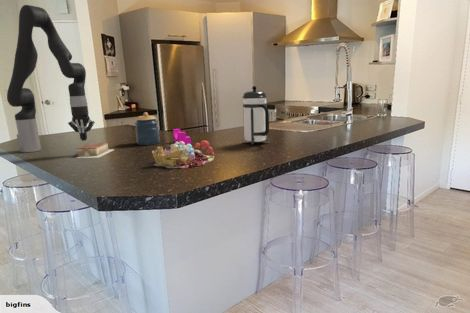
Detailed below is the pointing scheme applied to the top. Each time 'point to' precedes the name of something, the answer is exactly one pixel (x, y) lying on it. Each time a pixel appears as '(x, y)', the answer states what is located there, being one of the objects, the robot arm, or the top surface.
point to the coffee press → (255, 116)
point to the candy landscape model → (183, 155)
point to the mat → (96, 156)
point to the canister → (147, 130)
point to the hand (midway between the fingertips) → (84, 140)
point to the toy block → (181, 136)
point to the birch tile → (92, 149)
